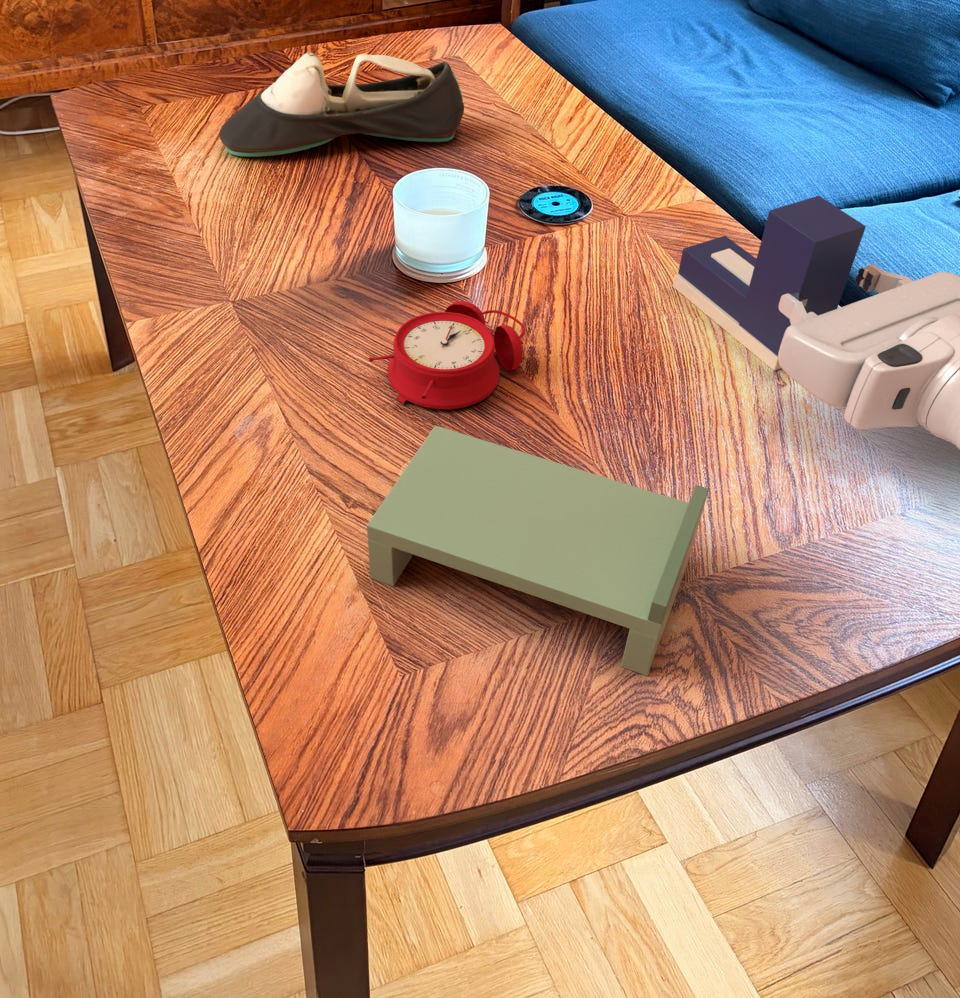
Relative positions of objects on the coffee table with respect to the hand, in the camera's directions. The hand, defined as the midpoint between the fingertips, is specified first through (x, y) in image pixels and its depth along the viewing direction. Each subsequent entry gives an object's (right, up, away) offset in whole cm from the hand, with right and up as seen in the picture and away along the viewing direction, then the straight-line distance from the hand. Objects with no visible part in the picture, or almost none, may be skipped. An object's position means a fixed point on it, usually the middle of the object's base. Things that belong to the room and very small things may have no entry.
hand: (824, 285), depth 91 cm
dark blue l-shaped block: (-4, -1, +11) cm, 12 cm away
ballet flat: (-49, +25, +34) cm, 65 cm away
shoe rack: (-27, -25, -14) cm, 40 cm away
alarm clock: (-34, -7, +3) cm, 35 cm away
